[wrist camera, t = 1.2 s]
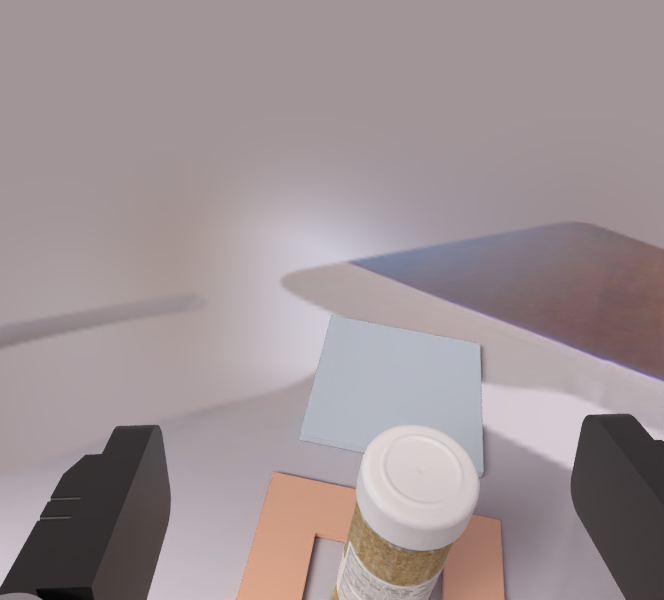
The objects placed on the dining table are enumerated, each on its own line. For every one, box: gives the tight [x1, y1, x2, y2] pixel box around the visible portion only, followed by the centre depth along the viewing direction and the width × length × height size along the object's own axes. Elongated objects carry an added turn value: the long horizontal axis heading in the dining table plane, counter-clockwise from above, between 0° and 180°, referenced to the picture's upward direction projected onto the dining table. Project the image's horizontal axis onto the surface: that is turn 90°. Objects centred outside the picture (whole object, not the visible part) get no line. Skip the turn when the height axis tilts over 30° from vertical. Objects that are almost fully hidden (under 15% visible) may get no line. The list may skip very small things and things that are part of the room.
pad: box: [299, 315, 484, 477], centre depth 43 cm, size 12×12×1 cm
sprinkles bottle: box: [331, 424, 480, 600], centre depth 27 cm, size 5×5×13 cm
